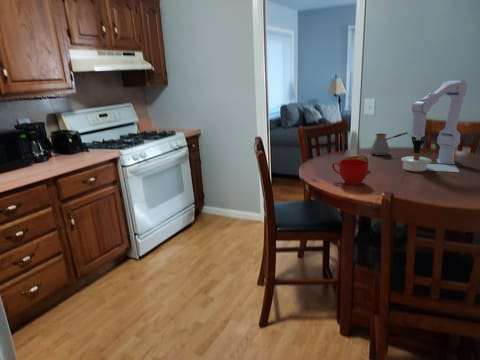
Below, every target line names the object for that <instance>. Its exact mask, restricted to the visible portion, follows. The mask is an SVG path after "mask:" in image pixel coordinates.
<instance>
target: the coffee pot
mask: <svg viewBox="0 0 480 360" xmlns="http://www.w3.org/2000/svg"><path fill="white" fill-rule="evenodd" d="M409 134H410V133H408V131H407V132H402V133H398V134H395V135H394V136H391V137H387V135H388V134H387V133H375V136H376V138H375V140H374V142H373V144H372V145H371V147H370V153H371V154H375V155H374V156H377V155H384V156H387V154H389V153H390V151H391V149H390V146H389V144H388V140H391V139H394V138H398V137H402V136H405V135H407V136H410V135H409ZM386 137H387V138H386Z"/></svg>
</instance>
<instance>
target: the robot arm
mask: <svg viewBox="0 0 480 360" xmlns="http://www.w3.org/2000/svg"><path fill="white" fill-rule="evenodd" d="M467 88H468V83H467V82H466V80H464V79H462V80H448V79H447V80H444V82H442V83H441V86H440V87H439V88H438V89H437V90H436V91H434V92H429V93H428V94H427V95H426V96H424V97H423V98H421V99H420V100H419V101H415V102H414V103H413V104H412V107H411V111H412V117H413V120H412V128H411V129H412V131H411V133H408V134H409V135H408V136H411V142H412V145H413V154H414V153H421V152H420V151H421V148H422V146H423V143H425V139H424V137H425V135H426V134H425V132H426V124H427V122H426V121H427V115H428V113H429V112H430V111H431V108H432V107H433V106H434V105H435V104H437V103H438V102H439V99H440V98H441V97H443V96H444V95H446V96H447V97H450V104H449V109H448V113H447V119H446V121H445V122H446V123H445V127H444V128H443V129H442V130H440V131H439V134H438V136H437V139H436V142H437V144H438V146H439V154H438V158H436V162H437V164H443V165H456V163H455V161H454V159H455V151H456V148H457V147H458V146H459V145H460V143H461V133H460V132H459V130H457V128H458V123H459V119H460V114H461V110H462V104H463V100H464V98H465V96H466V94H467Z"/></svg>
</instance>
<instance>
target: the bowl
mask: <svg viewBox="0 0 480 360" xmlns="http://www.w3.org/2000/svg"><path fill="white" fill-rule="evenodd" d="M402 162H403V161H402ZM402 169H403V170H406V171H409V172H410V171H411V172H424V171H427V164H411V163H406V162H403V163H402Z"/></svg>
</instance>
